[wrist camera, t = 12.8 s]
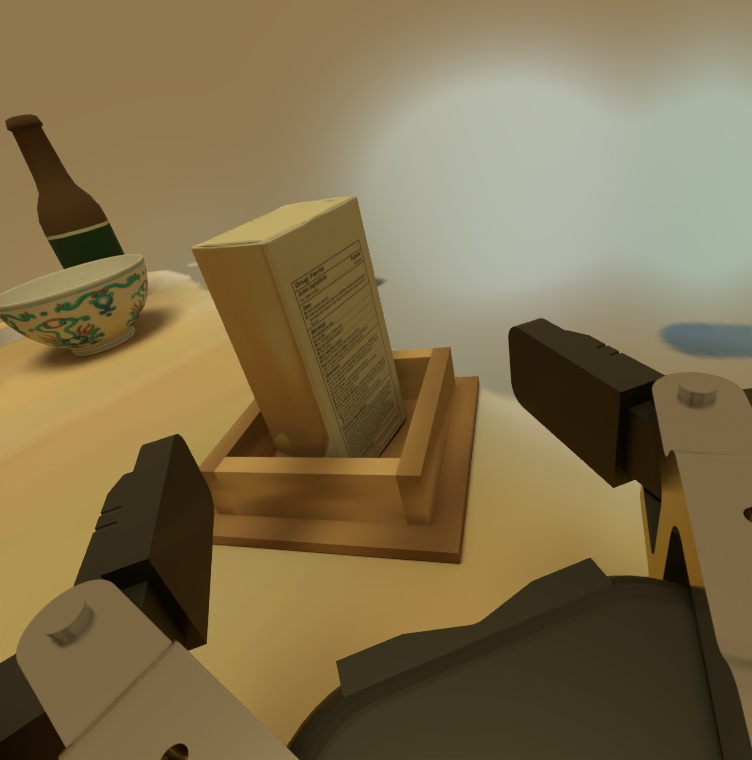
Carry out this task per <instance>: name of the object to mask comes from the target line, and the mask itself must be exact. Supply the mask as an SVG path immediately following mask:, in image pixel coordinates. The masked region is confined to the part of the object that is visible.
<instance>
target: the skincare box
mask: <svg viewBox="0 0 752 760" xmlns="http://www.w3.org/2000/svg"><path fill="white" fill-rule="evenodd" d="M191 249H192V251H193V254H194V256H195V259H196V261H197V263H198V265H199V268H200V270H201V272H202V275H203V277H204V280H205V282H206V284H207V286H208V289H209V291H210V294H211V296H212V298H213V301H214V303H215V305H216V308H217V310H218V312H219V315H220V317H221V319H222V322H223V324H224V326H225V329H226V331H227V334H228V336H229V338H230V340H231V343H232V345H233V347H234V350H235V352H236V354H237V357H238V359H239V361H240V364H241V366H242V369H243V371H244V373H245V376H246V378H247V380H248V383H249V385H250V387H251V390H252V392H253V395H254V397H255V399H256V401H257V404H258V406H259V408H260V411H261V413H262V415H263V418H264V420H265V422H266V424H267V427H268V429H269V432H270V434H271V436H272V439H273V441H274V444H275V446H276V448H277V451H278V453H279V455H280V457H307V458H377V457H378V456H379V454H380V453H381V452H382V450H383V449H384V448H385V446H386V445H387V444H388V442H389V441H390V440H391V438H392V437H393V435H394V434H395V433H396V431H397V430H398V428H399V427H400V425H401V424H402V423H403V421H404V420H405V418H406V412H405V407H404V403H403V399H402V394H401V390H400V385H399V382H398V377H397V372H396V368H395V364H394V359H393V355H392V351H391V346H390V342H389V337H388V333H387V328H386V325H385V320H384V316H383V311H382V307H381V303H380V298H379V293H378V289H377V285H376V280H375V276H374V271H373V267H372V262H371V258H370V253H369V249H368V245H367V241H366V236H365V232H364V228H363V223H362V219H361V215H360V210H359V205H358V201H357V197H356V196H347V197H337V198H330V199H323V200H317V201H308V202H300V203H295V204H291V205H285V206H283V207H281V208H279V209H277V210H275V211H272V212H270V213H267V214H266V215H263V216H261V217H259V218H256V219H254V220H252V221H250V222H248V223H245V224H243V225H241V226H239V227H236V228H234V229H232V230H230V231H227V232H225V233H224V234H221V235H218V236H216V237H214V238H212V239H209V240H207V241H206V242H203V243H200V244H198V245H196V246H193V247H191Z"/></svg>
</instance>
